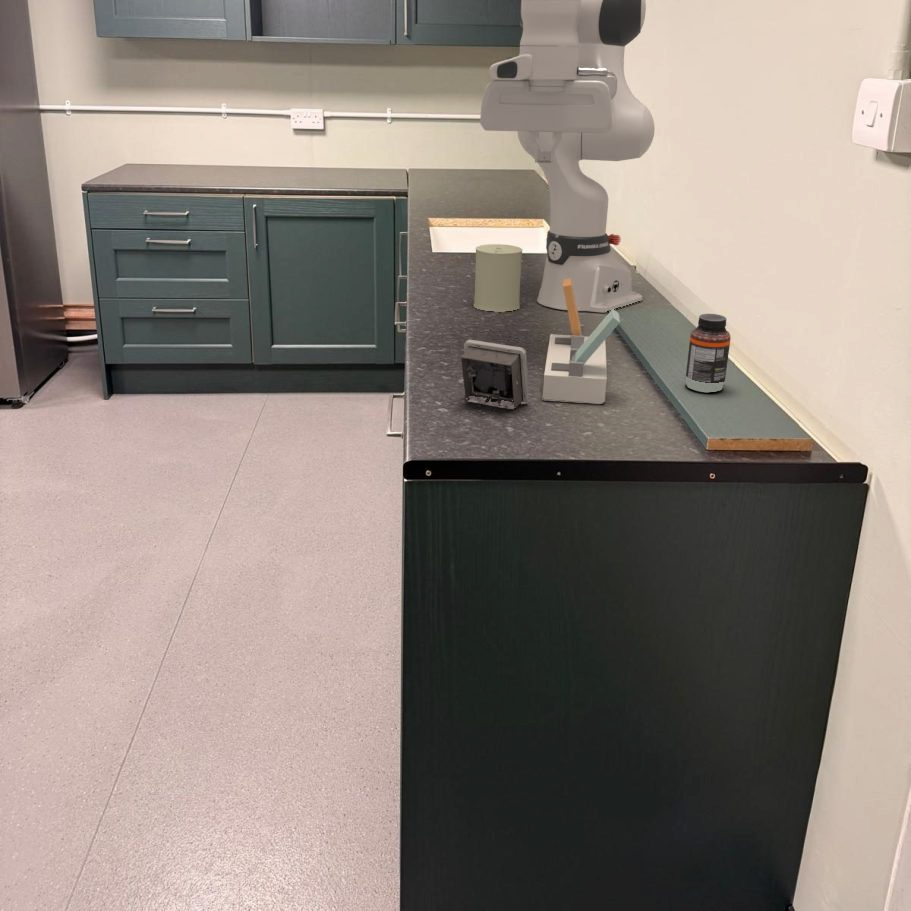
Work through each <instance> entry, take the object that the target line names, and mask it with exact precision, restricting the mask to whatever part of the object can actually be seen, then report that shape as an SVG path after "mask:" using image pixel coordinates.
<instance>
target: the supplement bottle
mask: <svg viewBox="0 0 911 911" xmlns="http://www.w3.org/2000/svg"><path fill="white" fill-rule="evenodd" d="M697 323H698V325H697V327H695V328H694V329H692V331H691V332H690V335H689V336H690V337H689V346H688V353H687V354H688V355H687V362H686V369H685V370H686V372H685V377H686V376H687V377H688V378H690V379H692V380H695V381H699V382H705V383H719V382H724V381H725V382H726V375H727V368H728V361H729V353H730V352H729V351H730V346H731V340H732V339H731V334H730V332H729V331H728V330H727V328H726V327H727V317H726V316H724V315H721V314H716V313H703V314H700V315H699V316H698V321H697Z"/></svg>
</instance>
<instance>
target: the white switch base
mask: <svg viewBox="0 0 911 911" xmlns="http://www.w3.org/2000/svg"><path fill="white" fill-rule="evenodd" d="M580 326H581V330H582V336H579V335H572V334H571V335H568V334H567V335H566V334H551V333H550V336H549V341H548V342H549V343H548V347H547V353H546V361H545V367H544V368H545V369H544V373H543V374H544V375H543V384H542V385H543V386H542V399H543V398H544V399H554V400H565V401H583V402H606V391H607V380H608V377H607V376H608V374H607V373H608V372H607V371H608V370H607V352H606V351H607V350H606V347H607V346H606V339H605V340H604V342H603V343H602V344H601V345H600V346H599V347H598V349H597V350H596V351H595V352H594V353H593V354H592V356H591V357H590V358H589V359H588V360H587V361H586V363H585V364H584V365H583V362H575V361H572V355H573V354H574V353H576V351H577V350H578V349H579V348H580V347H581V346H582V344H583V343H584V342H585V341H586V340H587V338H588V337H589V336H586V335H585V327H586V326H585V324H580Z"/></svg>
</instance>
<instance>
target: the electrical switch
mask: <svg viewBox="0 0 911 911" xmlns="http://www.w3.org/2000/svg"><path fill="white" fill-rule="evenodd" d="M463 350H464V353H463V354H462V355H461V357H460V358H461V359H460V360H461V369H462V370H461V371H462V378H463V388H464V389H463V390H464V396H465V397H464V398H465V400H466V398H468V397H469V396H475V397H483V398H488V400H490V399H492V397H494V398H497V400H496V401H499V400H504V401H509V402H513V403H514V407H516V406H517V405H518V406H520V405H521V404H520V403H521V402H526V404H527V403H528V402H529V400H530V393H529V378H528V362H527V361H528V360H527V359H528V358H527V350H525V348H523V347H519V346H512V345H507V344H500V343H494V342H487V341H481V340H473V339H468V340H466V341H465V343H464V344H463ZM476 394H477V395H476ZM488 396H489V397H488ZM468 399H469V398H468ZM488 400H487V401H488ZM492 400H493V399H492ZM512 400H513V401H512ZM499 402H500V401H499ZM518 406H517V407H518ZM517 407H516V408H517Z"/></svg>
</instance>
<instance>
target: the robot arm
mask: <svg viewBox="0 0 911 911" xmlns="http://www.w3.org/2000/svg"><path fill="white" fill-rule="evenodd" d="M646 6H647V4H646V0H520V1H519V22H520V26H521V27H522V35H521V38H520V41H519V53H518V55H517V56H511V57H510V56H509V57H507V58H506V59H505V60H502V61H498V62H495V63H493V64H492V65H490V66H489V69H488V70H489V72H488V73H489V77H490V79H492V81H490V82H488V83H487V85H486V86H485V87H484V90H483V93H482V94H483V95H482V99H481V107H480V108H481V109H480V120H479V122H480V125H481V128H483V130H484V131H491V132H495V131H496V132H516V133H517V137H518V141H519V143H520V145H521V147H522V148H523V150H524V151H525V152H526V154H528V155H529V156H530V157H532V159H533V160H534V163H537V164H538V166H539V167H540V168H541V170H542V172H543V174H544V176H545V179H546V182H547V186H548V189H549V200H550V202H549V206H550V207H549V208H550V209H549V210H550V214H549V217H550V218H549V230H548V231H547V233H546V242H545V243H546V245H545V246H546V248H545V249H546V260H545V264H544V270H543V274H542V280H541V286H540V288H539V289H538V290H539V291H538V295H537V296H538V297H537V299H536V302H537V303H538V304H540V305H542V306H544V307H548V308H552V309H557V310H562V311H568V310H567V305H566V300H565V295H564V290H563V282H564V279H569V278H571V280H572V285H573V290H574V295H575V300H576V305H577V310H578V312H592V313H603V314H604V313H608V312H607V311H608V309H609V308H618V307H621V308H623V306H625V307H627V306H626V305H628V306H630V305H629V304H631V305H633V304H632V303H634V302H637V301H640V300H642V301H643V295H641V294H640V293H638V292H636V291H634V290H633V288H632V287H633V280H632V278H633V277H632V272H631V270H630V269H629V268H628V267H627V266H626V265H625V264H624V263H623V262H622V261H620V259H618V257H616V256H615V255H614V254H613V252H612V249H611V245H614V246H619V245H620V243H621V241H622V239H621V235H620V234H614V233H611V234H609V235H608V233H607V222H608V211H609V195H608V192H607V190H606V188H605V187H604V186H603V185H601V184H600V183H599V182H598V181H595V180H594V179H592V178H591V177H589V176H587V175H586V174H584V172H583V171H582V170H581V168H580V162H581V161H582V160H585V161H586V160H587V161H601V162H602V161H606V162H621V161H622V162H623V161H626V160H627V161H628V160H634V159H640V158H641V157H642V156H644V155H645V154H646V152H647V151H649V149H650V147H651V145H652V143H653V140H654V137H655V130H656V129H655V121H654V117H653V115H652V113H651V111H650V110H649V108H648V107H647V106H646V105H645V104H644V103H642V102H641V101H640V100H639V99H638V98H636V96H635V95H634V94H633V92H632V91H631V89H630V87H629V85H628V83H627V81H626V77H625V69H624V67H625V65H624V64H625V48H626V46H627V45H628V44H630V43H631V42H632V41H634V39H636V38H637V37H638V36H639V35H640V34H641V31H642V28H643V26H644V24H645V18H646V9H647V8H646ZM579 161H580V162H579ZM640 302H641V301H640ZM637 303H638V302H637ZM634 304H635V303H634ZM618 309H619V308H618Z"/></svg>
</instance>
